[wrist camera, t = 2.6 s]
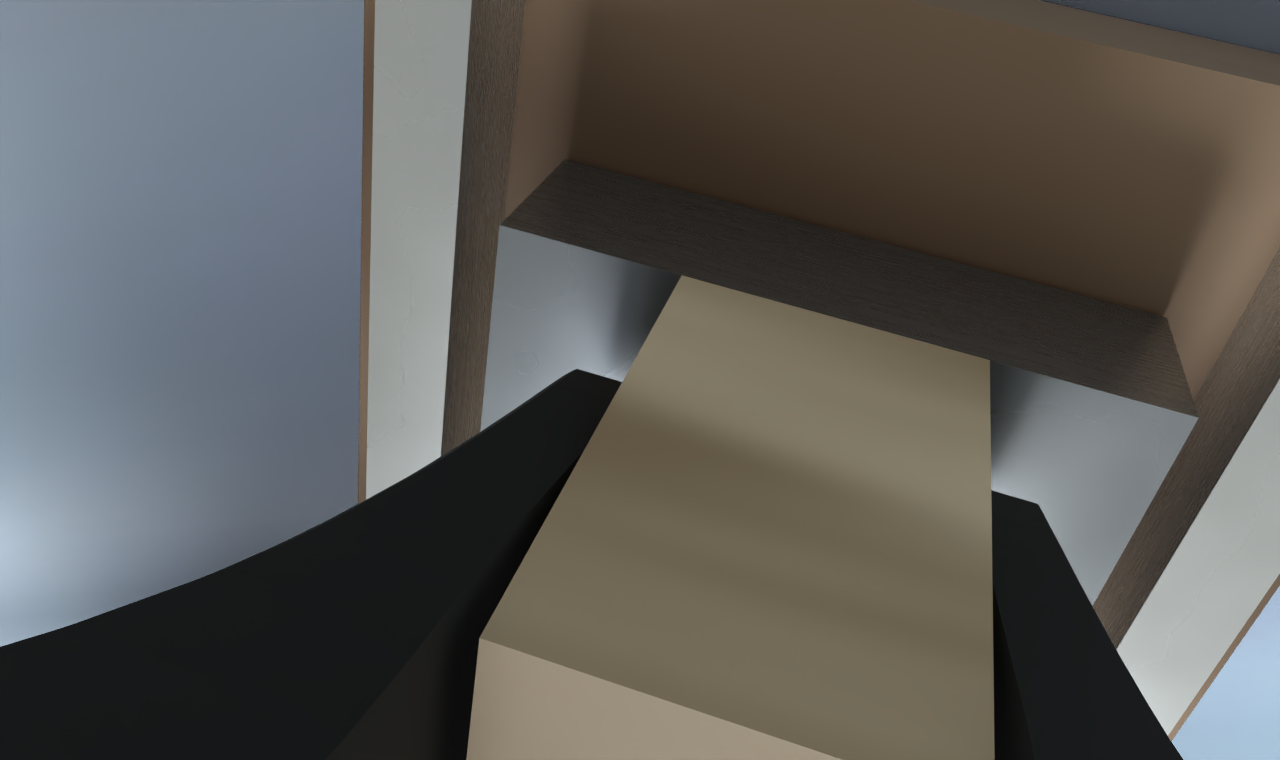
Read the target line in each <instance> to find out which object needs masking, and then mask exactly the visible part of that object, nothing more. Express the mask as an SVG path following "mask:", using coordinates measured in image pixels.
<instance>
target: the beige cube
mask: <svg viewBox="0 0 1280 760" xmlns="http://www.w3.org/2000/svg"><path fill="white" fill-rule="evenodd" d="M575 369H579V370H583V371H586V372H590V373H593V374H597V375H600V376H603V377H607V378H610V379H614V380H617V381H620V382H622V383H621V385H620V387H619V389H618V391H617V392H616V394H615V396H614V398H613V400H612V401H611V403H610V405H609V407H608V408H607V410H606V412H605V414H604V416H603V417H602V419H601V421H600V423H599V425H598V426H597V428H596V430H595V432H594V434H593V435H592V437H591V439H590V441H589V443H588V444H587V446H586V448H585V450H584V451H583V453H582V455H581V457H580V459H579V460H578V462H577V464H576V466H575V468H574V469H573V471H572V473H571V475H570V477H569V478H568V480H567V482H566V484H565V486H564V487H563V489H562V491H561V493H560V494H559V496H558V498H557V500H556V502H555V503H554V505H553V507H552V509H551V511H550V512H549V514H548V516H547V518H546V520H545V521H544V523H543V525H542V527H541V529H540V530H539V532H538V534H537V536H536V537H535V539H534V541H533V543H532V545H531V546H530V548H529V550H528V552H527V554H526V555H525V557H524V559H523V561H522V563H521V564H520V566H519V568H518V570H517V572H516V573H515V575H514V577H513V579H512V580H511V582H510V584H509V586H508V588H507V589H506V591H505V593H504V595H503V597H502V598H501V600H500V602H499V604H498V606H497V607H496V609H495V611H494V613H493V615H492V616H491V618H490V620H489V622H488V623H487V625H486V627H485V629H484V631H483V632H482V634H481V636H480V638H479V647H478V656H477V665H476V675H475V684H474V693H473V703H472V712H471V721H470V730H469V740H468V749H467V758H466V760H995V750H994V667H993V585H992V502H991V490H993V491H996V492H999V493H1003V494H1006V495H1010V496H1013V497H1016V498H1020V499H1023V500H1027V501H1030V502H1033V503H1037V504H1038V505H1039V506H1040V508H1041V510H1042V512H1043V514H1044V516H1045V518H1046V519H1047V521H1048V523H1049V525H1050V527H1051V529H1052V531H1053V532H1054V534H1055V536H1056V538H1057V540H1058V542H1059V544H1060V546H1061V548H1062V549H1063V551H1064V553H1065V555H1066V557H1067V559H1068V561H1069V563H1070V565H1071V567H1072V569H1073V570H1074V572H1075V574H1076V576H1077V578H1078V580H1079V582H1080V584H1081V586H1082V587H1083V589H1084V591H1085V593H1086V595H1087V597H1088V599H1089V601H1090V602H1091V604H1092V606H1093V604H1094V602H1095V601H1096V599H1097V597H1098V595H1099V594H1100V592H1101V590H1102V588H1103V587H1104V585H1105V583H1106V581H1107V579H1108V578H1109V576H1110V574H1111V572H1112V571H1113V569H1114V567H1115V565H1116V564H1117V562H1118V560H1119V558H1120V556H1121V555H1122V553H1123V551H1124V549H1125V548H1126V546H1127V544H1128V542H1129V541H1130V539H1131V537H1132V535H1133V533H1134V532H1135V530H1136V528H1137V526H1138V525H1139V523H1140V521H1141V519H1142V518H1143V516H1144V514H1145V512H1146V510H1147V509H1148V507H1149V505H1150V503H1151V502H1152V500H1153V498H1154V496H1155V495H1156V493H1157V491H1158V489H1159V487H1160V486H1161V484H1162V482H1163V480H1164V479H1165V477H1166V475H1167V473H1168V471H1169V470H1170V468H1171V466H1172V464H1173V463H1174V461H1175V459H1176V457H1177V456H1178V454H1179V452H1180V450H1181V448H1182V447H1183V445H1184V443H1185V441H1186V440H1187V438H1188V436H1189V434H1190V433H1191V431H1192V429H1193V427H1194V425H1195V424H1196V422H1197V420H1198V418H1199V417H1198V414H1197V410H1196V407H1195V404H1194V401H1193V398H1192V395H1191V392H1190V388H1189V385H1188V382H1187V379H1186V376H1185V373H1184V370H1183V366H1182V363H1181V360H1180V357H1179V354H1178V351H1177V348H1176V344H1175V341H1174V338H1173V335H1172V332H1171V329H1170V326H1169V322H1168V319H1167V317H1163V316H1159V315H1155V314H1151V313H1148V312H1144V311H1140V310H1136V309H1132V308H1129V307H1125V306H1121V305H1117V304H1113V303H1110V302H1106V301H1102V300H1098V299H1094V298H1091V297H1087V296H1083V295H1079V294H1076V293H1072V292H1068V291H1064V290H1060V289H1057V288H1053V287H1049V286H1045V285H1041V284H1038V283H1034V282H1030V281H1026V280H1022V279H1019V278H1015V277H1011V276H1007V275H1003V274H1000V273H996V272H992V271H988V270H985V269H981V268H977V267H973V266H969V265H966V264H962V263H958V262H954V261H950V260H947V259H943V258H939V257H935V256H931V255H928V254H924V253H920V252H916V251H912V250H909V249H905V248H901V247H897V246H894V245H890V244H886V243H882V242H878V241H875V240H871V239H867V238H863V237H859V236H856V235H852V234H848V233H844V232H840V231H837V230H833V229H829V228H825V227H821V226H818V225H814V224H810V223H806V222H803V221H799V220H795V219H791V218H787V217H784V216H780V215H776V214H772V213H768V212H765V211H761V210H757V209H753V208H749V207H746V206H742V205H738V204H734V203H730V202H727V201H723V200H719V199H715V198H712V197H708V196H704V195H700V194H696V193H693V192H689V191H685V190H681V189H677V188H674V187H670V186H666V185H662V184H658V183H655V182H651V181H647V180H643V179H639V178H636V177H632V176H628V175H624V174H621V173H617V172H613V171H609V170H605V169H602V168H598V167H594V166H590V165H586V164H583V163H579V162H575V161H571V160H567V159H564V160H563V161H562V162H561V163H560V164H559V165H558V166H557V167H556V168H555V170H554V171H553V172H552V173H551V174H550V175H549V176H548V177H547V178H546V179H545V180H544V181H543V182H542V183H541V184H540V185H539V186H538V187H537V188H536V189H535V190H534V191H533V192H532V193H531V194H530V195H529V196H528V197H527V198H526V199H525V200H524V201H523V202H522V203H521V204H520V205H519V206H518V207H517V208H516V209H515V210H514V211H513V212H512V213H511V214H510V215H509V216H508V217H507V218H506V219H505V220H504V221H503V222H502V223H501V224H500V226H499V236H498V247H497V258H496V268H495V279H494V290H493V301H492V311H491V322H490V333H489V343H488V354H487V365H486V376H485V386H484V397H483V408H482V418H481V429H480V432H481V431H482V430H484V429H485V428H487V427H488V426H490V425H491V424H493V423H494V422H496V421H497V420H499V419H500V418H502V417H503V416H505V415H506V414H508V413H509V412H511V411H512V410H514V409H515V408H517V407H518V406H520V405H521V404H523V403H524V402H526V401H527V400H529V399H530V398H531V397H533V396H534V395H536V394H537V393H539V392H540V391H542V390H543V389H544V388H546V387H547V386H549V385H550V384H552V383H553V382H555V381H556V380H558V379H559V378H561V377H562V376H563V375H565V374H567V373H569V372H571V371H573V370H575Z"/></svg>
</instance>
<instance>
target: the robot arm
mask: <svg viewBox="0 0 1280 760" xmlns="http://www.w3.org/2000/svg"><path fill="white" fill-rule="evenodd" d="M621 383H622V382H620V381H617V380H614V379H610V378H607V377H603V376H600V375H597V374H593V373H590V372H586V371H583V370H579V369H575V370H573V371H571V372H569V373H567V374H565V375H563V376H562V377H561V378H559V379H558V380H556V381H555V382H553V383H552V384H550V385H549V386H547V387H546V388H544V389H543V390H542V391H540V392H539V393H537V394H536V395H534V396H533V397H531V398H530V399H529V400H527V401H526V402H524V403H523V404H521V405H520V406H518V407H517V408H515V409H514V410H512V411H511V412H509V413H508V414H506V415H505V416H503V417H502V418H500V419H499V420H497V421H496V422H494V423H493V424H491V425H490V426H488V427H487V428H485V429H484V430H482V431H481V432H479V433H478V434H476V435H475V436H473V437H471V438H470V439H468V440H467V441H465V442H463V443H462V444H460V445H459V446H457V447H455V448H454V449H452V450H450V451H449V452H447V453H446V454H444V455H442V456H441V457H439V458H438V459H436V460H434V461H433V462H431V463H430V464H428V465H426V466H425V467H423V468H421V469H420V470H418V471H416V472H415V473H413V474H411V475H410V476H408V477H406V478H404V479H403V480H401V481H399V482H397V483H395V484H394V485H392V486H390V487H388V488H386V489H384V490H383V491H381V492H379V493H377V494H375V495H374V496H372V497H370V498H368V499H366V500H364V501H363V502H361V503H359V504H357V505H355V506H353V507H352V508H350V509H348V510H346V511H344V512H342V513H341V514H339V515H337V516H335V517H333V518H331V519H329V520H327V521H325V522H324V523H322V524H319V525H317V526H315V527H313V528H311V529H309V530H307V531H305V532H303V533H301V534H299V535H297V536H295V537H293V538H291V539H289V540H287V541H285V542H283V543H280V544H278V545H276V546H274V547H272V548H270V549H268V550H265V551H263V552H261V553H258V554H256V555H254V556H252V557H249V558H247V559H245V560H243V561H240V562H238V563H236V564H234V565H231V566H229V567H227V568H225V569H222V570H220V571H217V572H215V573H212V574H210V575H207V576H205V577H202V578H200V579H197V580H195V581H192V582H189V583H186V584H184V585H181V586H178V587H175V588H173V589H170V590H167V591H164V592H162V593H159V594H156V595H153V596H150V597H148V598H145V599H142V600H139V601H137V602H134V603H131V604H128V605H126V606H123V607H120V608H117V609H115V610H112V611H109V612H106V613H103V614H101V615H98V616H95V617H92V618H90V619H87V620H84V621H81V622H79V623H76V624H73V625H70V626H67V627H63V628H60V629H57V630H54V631H51V632H48V633H45V634H41V635H38V636H35V637H31V638H28V639H25V640H22V641H18V642H15V643H12V644H9V645H5V646H2V647H0V760H466V758H467V749H468V740H469V730H470V721H471V712H472V703H473V693H474V684H475V675H476V665H477V656H478V647H479V638H480V636H481V634H482V632H483V631H484V629H485V627H486V625H487V623H488V622H489V620H490V618H491V616H492V615H493V613H494V611H495V609H496V607H497V606H498V604H499V602H500V600H501V598H502V597H503V595H504V593H505V591H506V589H507V588H508V586H509V584H510V582H511V580H512V579H513V577H514V575H515V573H516V572H517V570H518V568H519V566H520V564H521V563H522V561H523V559H524V557H525V555H526V554H527V552H528V550H529V548H530V546H531V545H532V543H533V541H534V539H535V537H536V536H537V534H538V532H539V530H540V529H541V527H542V525H543V523H544V521H545V520H546V518H547V516H548V514H549V512H550V511H551V509H552V507H553V505H554V503H555V502H556V500H557V498H558V496H559V494H560V493H561V491H562V489H563V487H564V486H565V484H566V482H567V480H568V478H569V477H570V475H571V473H572V471H573V469H574V468H575V466H576V464H577V462H578V460H579V459H580V457H581V455H582V453H583V451H584V450H585V448H586V446H587V444H588V443H589V441H590V439H591V437H592V435H593V434H594V432H595V430H596V428H597V426H598V425H599V423H600V421H601V419H602V417H603V416H604V414H605V412H606V410H607V408H608V407H609V405H610V403H611V401H612V400H613V398H614V396H615V394H616V392H617V391H618V389H619V387H620V385H621ZM991 502H992V585H993V667H994V750H995V760H1183V759H1182V757H1181V756H1180V754H1179V753H1178V751H1177V750H1176V748H1175V747H1174V745H1173V744H1172V742H1171V740H1170V739H1169V737H1168V735H1167V734H1166V732H1165V731H1164V729H1163V727H1162V726H1161V724H1160V723H1159V721H1158V719H1157V718H1156V716H1155V715H1154V713H1153V711H1152V710H1151V708H1150V706H1149V705H1148V703H1147V702H1146V700H1145V698H1144V696H1143V695H1142V693H1141V691H1140V690H1139V688H1138V686H1137V684H1136V683H1135V681H1134V679H1133V678H1132V676H1131V674H1130V672H1129V671H1128V669H1127V667H1126V666H1125V664H1124V662H1123V660H1122V659H1121V657H1120V655H1119V654H1118V652H1117V650H1116V648H1115V646H1114V645H1113V643H1112V641H1111V639H1110V637H1109V636H1108V634H1107V632H1106V630H1105V628H1104V627H1103V625H1102V623H1101V621H1100V619H1099V617H1098V615H1097V614H1096V612H1095V610H1094V608H1093V606H1092V604H1091V602H1090V601H1089V599H1088V597H1087V595H1086V593H1085V591H1084V589H1083V587H1082V586H1081V584H1080V582H1079V580H1078V578H1077V576H1076V574H1075V572H1074V570H1073V569H1072V567H1071V565H1070V563H1069V561H1068V559H1067V557H1066V555H1065V553H1064V551H1063V549H1062V548H1061V546H1060V544H1059V542H1058V540H1057V538H1056V536H1055V534H1054V532H1053V531H1052V529H1051V527H1050V525H1049V523H1048V521H1047V519H1046V518H1045V516H1044V514H1043V512H1042V510H1041V508H1040V506H1039V505H1038V504H1037V503H1033V502H1030V501H1027V500H1023V499H1020V498H1016V497H1013V496H1010V495H1006V494H1003V493H999V492H996V491H993V490H991Z"/></svg>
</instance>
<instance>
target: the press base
mask: <svg viewBox="0 0 1280 760" xmlns="http://www.w3.org/2000/svg"><path fill="white" fill-rule="evenodd" d="M564 159H567V160H571V161H575V162H579V163H583V164H586V165H590V166H594V167H598V168H602V169H605V170H609V171H613V172H617V173H621V174H624V175H628V176H632V177H636V178H639V179H643V180H647V181H651V182H655V183H658V184H662V185H666V186H670V187H674V188H677V189H681V190H685V191H689V192H693V193H696V194H700V195H704V196H708V197H712V198H715V199H719V200H723V201H727V202H730V203H734V204H738V205H742V206H746V207H749V208H753V209H757V210H761V211H765V212H768V213H772V214H776V215H780V216H784V217H787V218H791V219H795V220H799V221H803V222H806V223H810V224H814V225H818V226H821V227H825V228H829V229H833V230H837V231H840V232H844V233H848V234H852V235H856V236H859V237H863V238H867V239H871V240H875V241H878V242H882V243H886V244H890V245H894V246H897V247H901V248H905V249H909V250H912V251H916V252H920V253H924V254H928V255H931V256H935V257H939V258H943V259H947V260H950V261H954V262H958V263H962V264H966V265H969V266H973V267H977V268H981V269H985V270H988V271H992V272H996V273H1000V274H1003V275H1007V276H1011V277H1015V278H1019V279H1022V280H1026V281H1030V282H1034V283H1038V284H1041V285H1045V286H1049V287H1053V288H1057V289H1060V290H1064V291H1068V292H1072V293H1076V294H1079V295H1083V296H1087V297H1091V298H1094V299H1098V300H1102V301H1106V302H1110V303H1113V304H1117V305H1121V306H1125V307H1129V308H1132V309H1136V310H1140V311H1144V312H1148V313H1151V314H1155V315H1159V316H1163V317H1167V319H1168V322H1169V326H1170V329H1171V332H1172V335H1173V338H1174V341H1175V344H1176V348H1177V351H1178V354H1179V357H1180V360H1181V363H1182V366H1183V370H1184V373H1185V376H1186V379H1187V382H1188V385H1189V388H1190V392H1191V395H1192V398H1193V401H1194V404H1195V407H1196V410H1197V414H1198V417H1199V418H1198V420H1197V422H1196V424H1195V425H1194V427H1193V429H1192V431H1191V433H1190V434H1189V436H1188V438H1187V440H1186V441H1185V443H1184V445H1183V447H1182V448H1181V450H1180V452H1179V454H1178V456H1177V457H1176V459H1175V461H1174V463H1173V464H1172V466H1171V468H1170V470H1169V471H1168V473H1167V475H1166V477H1165V479H1164V480H1163V482H1162V484H1161V486H1160V487H1159V489H1158V491H1157V493H1156V495H1155V496H1154V498H1153V500H1152V502H1151V503H1150V505H1149V507H1148V509H1147V510H1146V512H1145V514H1144V516H1143V518H1142V519H1141V521H1140V523H1139V525H1138V526H1137V528H1136V530H1135V532H1134V533H1133V535H1132V537H1131V539H1130V541H1129V542H1128V544H1127V546H1126V548H1125V549H1124V551H1123V553H1122V555H1121V556H1120V558H1119V560H1118V562H1117V564H1116V565H1115V567H1114V569H1113V571H1112V572H1111V574H1110V576H1109V578H1108V579H1107V581H1106V583H1105V585H1104V587H1103V588H1102V590H1101V592H1100V594H1099V595H1098V597H1097V599H1096V601H1095V602H1094V604H1093V608H1094V610H1095V612H1096V614H1097V615H1098V617H1099V619H1100V621H1101V623H1102V625H1103V627H1104V628H1105V630H1106V632H1107V634H1108V636H1109V637H1110V639H1111V641H1112V643H1113V645H1114V646H1115V648H1116V650H1117V652H1118V654H1119V655H1120V657H1121V659H1122V660H1123V662H1124V664H1125V666H1126V667H1127V669H1128V671H1129V672H1130V674H1131V676H1132V678H1133V679H1134V681H1135V683H1136V684H1137V686H1138V688H1139V690H1140V691H1141V693H1142V695H1143V696H1144V698H1145V700H1146V702H1147V703H1148V705H1149V706H1150V708H1151V710H1152V711H1153V713H1154V715H1155V716H1156V718H1157V719H1158V721H1159V723H1160V724H1161V726H1162V727H1163V729H1164V731H1165V732H1166V734H1167V735H1168V737H1169V739H1170V740H1171V741H1172V740H1173V738H1174V737H1175V735H1176V734H1177V732H1178V731H1179V730H1180V728H1181V727H1182V725H1183V724H1184V722H1185V721H1186V719H1187V718H1188V717H1189V715H1190V714H1191V712H1192V711H1193V709H1194V708H1195V706H1196V705H1197V704H1198V702H1199V701H1200V699H1201V698H1202V696H1203V695H1204V694H1205V692H1206V691H1207V689H1208V688H1209V686H1210V685H1211V683H1212V682H1213V681H1214V679H1215V678H1216V676H1217V675H1218V673H1219V672H1220V670H1221V669H1222V668H1223V666H1224V665H1225V663H1226V662H1227V660H1228V659H1229V658H1230V656H1231V655H1232V653H1233V652H1234V650H1235V649H1236V647H1237V646H1238V645H1239V643H1240V642H1241V640H1242V639H1243V637H1244V636H1245V635H1246V633H1247V632H1248V630H1249V629H1250V627H1251V626H1252V624H1253V623H1254V622H1255V620H1256V619H1257V617H1258V616H1259V614H1260V613H1261V611H1262V610H1263V609H1264V607H1265V606H1266V604H1267V603H1268V601H1269V600H1270V599H1271V597H1272V596H1273V594H1274V593H1275V591H1276V590H1277V588H1278V587H1279V586H1280V54H1275V53H1271V52H1266V51H1262V50H1257V49H1253V48H1249V47H1244V46H1240V45H1235V44H1231V43H1227V42H1222V41H1218V40H1213V39H1209V38H1204V37H1200V36H1196V35H1191V34H1187V33H1182V32H1178V31H1173V30H1169V29H1165V28H1160V27H1156V26H1151V25H1147V24H1142V23H1138V22H1134V21H1129V20H1125V19H1120V18H1116V17H1112V16H1107V15H1103V14H1098V13H1094V12H1089V11H1085V10H1081V9H1076V8H1072V7H1067V6H1063V5H1058V4H1054V3H1050V2H1045V1H1041V0H364V76H363V154H362V232H361V310H360V388H359V465H358V504H359V503H361V502H363V501H364V500H366V499H368V498H370V497H372V496H374V495H375V494H377V493H379V492H381V491H383V490H384V489H386V488H388V487H390V486H392V485H394V484H395V483H397V482H399V481H401V480H403V479H404V478H406V477H408V476H410V475H411V474H413V473H415V472H416V471H418V470H420V469H421V468H423V467H425V466H426V465H428V464H430V463H431V462H433V461H434V460H436V459H438V458H439V457H441V456H442V455H444V454H446V453H447V452H449V451H450V450H452V449H454V448H455V447H457V446H459V445H460V444H462V443H463V442H465V441H467V440H468V439H470V438H471V437H473V436H475V435H476V434H478V433H479V432H480V429H481V418H482V408H483V397H484V386H485V376H486V365H487V354H488V343H489V333H490V322H491V311H492V301H493V290H494V279H495V268H496V258H497V247H498V236H499V226H500V224H501V223H502V222H503V221H504V220H505V219H506V218H507V217H508V216H509V215H510V214H511V213H512V212H513V211H514V210H515V209H516V208H517V207H518V206H519V205H520V204H521V203H522V202H523V201H524V200H525V199H526V198H527V197H528V196H529V195H530V194H531V193H532V192H533V191H534V190H535V189H536V188H537V187H538V186H539V185H540V184H541V183H542V182H543V181H544V180H545V179H546V178H547V177H548V176H549V175H550V174H551V173H552V172H553V171H554V170H555V168H556V167H557V166H558V165H559V164H560V163H561V162H562V161H563V160H564Z"/></svg>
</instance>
